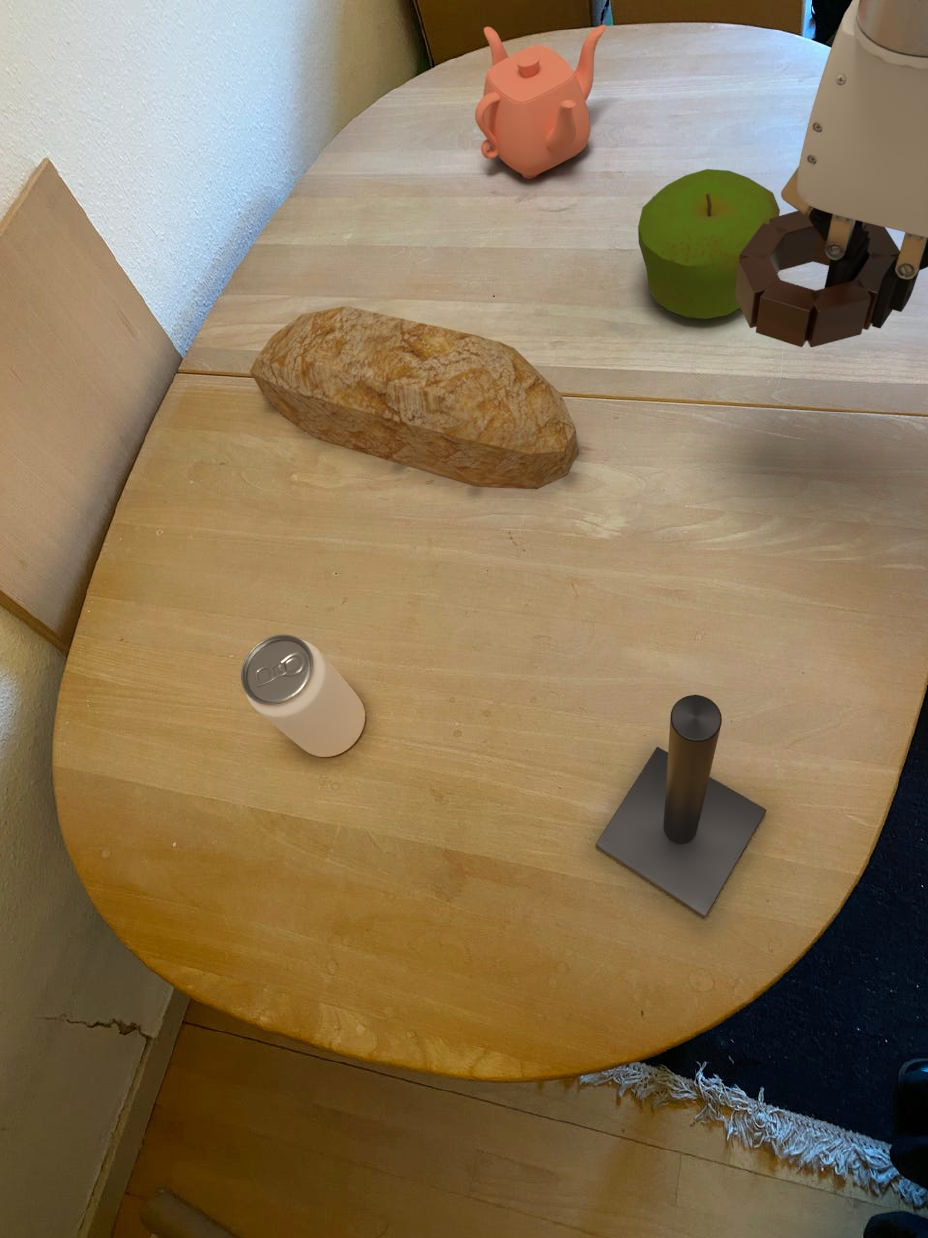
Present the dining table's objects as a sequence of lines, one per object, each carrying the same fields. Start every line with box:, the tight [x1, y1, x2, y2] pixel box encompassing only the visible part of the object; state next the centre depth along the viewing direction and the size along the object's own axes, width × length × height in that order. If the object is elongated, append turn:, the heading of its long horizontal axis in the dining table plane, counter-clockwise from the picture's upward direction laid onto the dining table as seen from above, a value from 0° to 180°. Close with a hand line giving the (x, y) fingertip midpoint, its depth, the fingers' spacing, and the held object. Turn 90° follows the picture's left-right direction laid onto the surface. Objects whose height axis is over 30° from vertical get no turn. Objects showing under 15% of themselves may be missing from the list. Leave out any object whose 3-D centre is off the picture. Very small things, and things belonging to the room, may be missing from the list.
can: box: [240, 634, 366, 758], centre depth 67 cm, size 6×6×12 cm
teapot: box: [474, 24, 607, 180], centre depth 95 cm, size 14×14×11 cm
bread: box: [249, 306, 579, 490], centre depth 81 cm, size 36×11×10 cm, turn 63°
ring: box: [735, 210, 900, 348], centre depth 54 cm, size 9×9×3 cm
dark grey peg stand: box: [595, 694, 768, 920], centre depth 51 cm, size 9×9×25 cm
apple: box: [637, 168, 781, 320], centre depth 80 cm, size 12×12×11 cm
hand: (863, 304), depth 53 cm, fingers closed on ring, 2 cm apart
